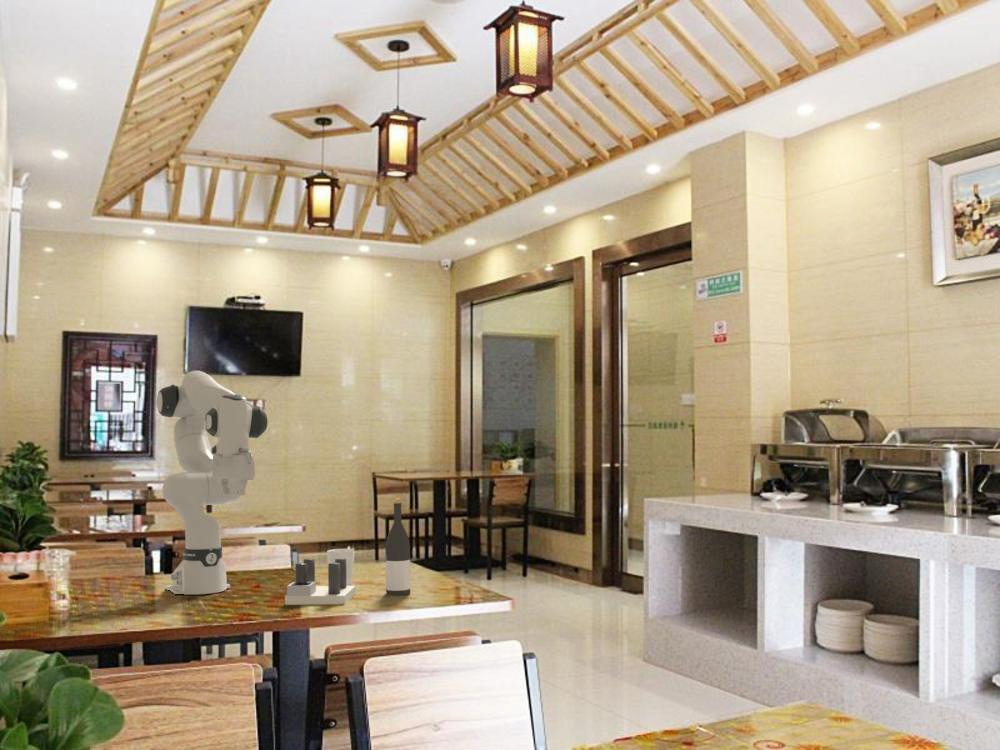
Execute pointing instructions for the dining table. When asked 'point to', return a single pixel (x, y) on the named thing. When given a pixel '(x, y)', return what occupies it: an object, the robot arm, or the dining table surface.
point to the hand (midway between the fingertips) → (233, 494)
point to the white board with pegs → (322, 594)
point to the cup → (349, 557)
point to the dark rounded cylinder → (301, 574)
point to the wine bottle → (397, 556)
